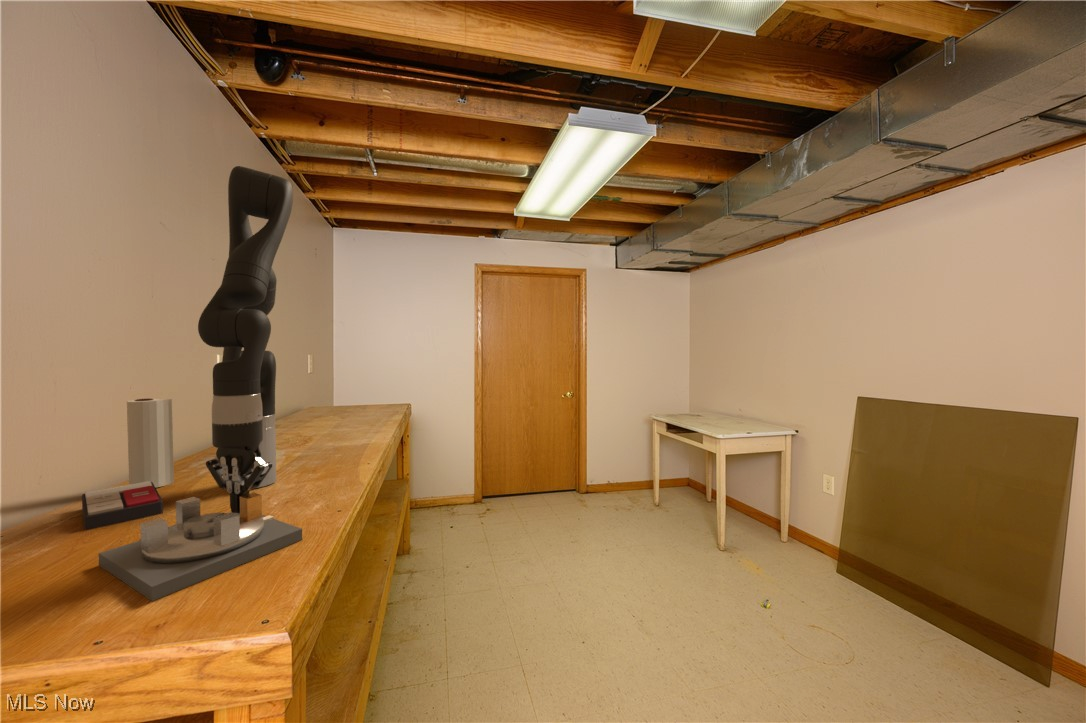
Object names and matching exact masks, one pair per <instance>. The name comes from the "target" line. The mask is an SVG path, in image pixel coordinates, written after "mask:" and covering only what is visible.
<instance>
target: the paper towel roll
mask: <svg viewBox="0 0 1086 723" xmlns="http://www.w3.org/2000/svg"><path fill="white" fill-rule="evenodd" d="M126 421H127V450H128V451H127V452H128V456H127V457H128V458H127V459H128V485H130V484H136V483H142V482H148V481H150V482H153V484H154V486H155V488H156V489H157V488H160V487H164V486H168V485H174V483H175V475H174V474H175V473H174V472H175V471H174V467H175V466H174V434H173V433H174V432H173V431H174V430H173V426H174V425H173V398H172V399H171V398H170V399H169V398H168V399H160V398H137V399H132V400H127V401H126Z"/></svg>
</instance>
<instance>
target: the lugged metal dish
mask: <svg viewBox="0 0 1086 723" xmlns="http://www.w3.org/2000/svg"><path fill="white" fill-rule="evenodd" d="M262 496H263V495H262V494H260V493H257V492H251V493H250V492H249V494H246V495H243V496H240V514H238V513H233V512H231V511H230V512H211V513H204V514H201V499H200V498H198V497H196V496H192V497H188V498H183V499H179V500H176V501H175V517H176V518H175V519H176V520H175V521H176V522H175V524H173V525H170V526H169V525H168V524H169V523H168V520H165V519H164V518H161V517H159V518H156V519H152V520H149V521H145V522H141V523H140V524H139V525H140V540H141V549H142V557H143V558H144V559H146V560H148V561H152V562H158V563H174V562H184V561H191V560H197V559H202V558H207V557H210V556H214V555H218V554H221V553H224V552H227V551H230V550H233V549H235V548H238V547H240V546H242V545H245V544H247V543H248V542H250V541H252V540H254V539H255V538H256V537H258V536H259V535H260V534H261V533H262V531H263V529H264V520H263V518H262V515H263V507H262V506H263V504H262V503H263V502H262V501H263V498H262Z"/></svg>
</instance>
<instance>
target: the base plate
mask: <svg viewBox="0 0 1086 723" xmlns="http://www.w3.org/2000/svg"><path fill="white" fill-rule="evenodd" d="M262 518H263V520H264V529H263V531H262V533H261V534H260V535H259V536H258V537H256V538H255V539H254V540H252V541H250V542H248V543H247V544H245V545H242V546H240V547H238V548H235V549H233V550H230V551H227V552H224V553H221V554H218V555H214V556H210V557H207V558H202V559H197V560H191V561H184V562H174V563H158V562H152V561H148V560H146V559H144V558H143V557H142V549H141V539H140V540H137V541H133V542H131V543H128V544H124V545H121V546H117V547H114V548H110V549H108V550H107V549H106V550H105V551H102V552H98V567H101V568H102V569H104V570H105V571H106V572H108V573H109V572H110V573H109V574H111V575H112V574H113V575H112V576H114V577H115V578H117V579H118V580H120V581H121V580H122V581H121V582H123V583H124V584H126V585H127V586H129V587H130V588H132V589H133V590H135V591H136V592H138V593H139V594H141V595H143V596H144V597H145V598H147V599H149V600H150V601H151V602H155V601H156V600H159V599H161V598H164V597H166V596H169V595H171V594H173V593H176V592H178V591H181V590H184V589H186V588H188V587H190V586H193V585H195V584H198V583H201V582H202V581H205V580H207V579H210V578H213V577H215V576H217V575H220V574H222V573H224V572H227V571H230V570H232V569H234V568H237V567H240V566H242V565H244V564H246V563H249V562H251V560H252V561H254V560H256V559H259V558H262V557H264V556H266V555H269V554H271V553H273V552H276V551H278V550H280V549H281V550H282V549H283V548H286V547H288V546H290V545H293V544H295V543H298V542H300V541H302V540H303V528H301V527H298V526H296V525H293V524H290V523H287V522H284V521H282V520H279V519H276V518H275V517H274V516H273V515H264V514H262ZM241 564H242V565H241ZM239 565H240V566H239Z"/></svg>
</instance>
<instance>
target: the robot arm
mask: <svg viewBox="0 0 1086 723" xmlns="http://www.w3.org/2000/svg"><path fill="white" fill-rule="evenodd" d="M227 185H228V186H227V191H228V192H227V194H228V195H227V196H228V198H227V199H228V200H227V201H228V206H227V207H228V228H229V229H228V230H229V232H228V233H229V246H228V258H227V261H226V265H225V269H224V271H223V272H224V273H223V275H222V276H223V278H222V281H221V285H220V286H219V288H218V289H217V290H216V292H215V293H214V295H213V296H212V297H211V299H210V300H209V302H208V303H207V305H206V306H205V308H204V309H203V311H202V312H201V314H200V317H199V319H198V323H197V324H198V325H197V331H198V336H199V337H200V339H201V340H202V342H203V343H204V344H206V345H207V346H209V347H213V348H223V352H222V357H221V358H222V359H221V361H220V362H217V363H216V364H214V366H213V368H212V403H211V436H212V437H211V438H212V440H211V441H212V442H211V443H212V446H213V447H214V448H217V449H216V452H215V456H214V458H212V459H210V460H207V461H205V466H206V468H207V469H208V471H209V473H210V474H211V476H212V478H213V479H214V481H215V483H216V484H217V485H218V488H219V489H220V490H223V489H226V492H227V493H229V508H230V513H231V512H233V513H238V514H240V496H243V495H246V494H250V491H251V490H254V489H257V488H264V487H267V486H269V485H270V486H271V485H272V484H274V483H276V481H277V446H276V445H277V444H276V442H277V441H276V439H277V438H276V379H277V378H276V377H277V361H276V357H275V354H274V353H273V351H271V350H266V349H267V346H268V343H269V340H270V337H271V333H272V332H271V331H272V324H271V320H270V318H269V317H268V315H269V314H270V313H271V311H272V310H273V308H274V306H275V304H276V294H277V293H276V292H277V282H278V280H277V276H276V273H275V271H274V269H273V264H274V260H275V258H276V255H277V252H278V250H279V247H280V245H281V242H282V240H283V237H284V234H285V231H286V229H287V225H288V223H289V220H290V217H291V214H292V210H293V201H294V192H293V191H294V190H293V185H292V183H291V182H290V181H289V180H288V179H286V178H284V177H281V176H278V175H274V174H271V173H268V172H267V173H266V172H264V171H259V170H255V169H254V168H253V169H252V168H251V167H250V168H248V167H245V166H240V165H237V166H234V167H233V168H232V169H231V171H230V174H229V178H228V184H227ZM249 216H251V217H255V218H260V219H264V220H267V222H266V223H265V225H263V227H261V228H260V229H259V230H258V231H257V232H255V233H254V234H253V231H252V227H251V225H250V223H251V222H250V219H249V218H250V217H249Z"/></svg>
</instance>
